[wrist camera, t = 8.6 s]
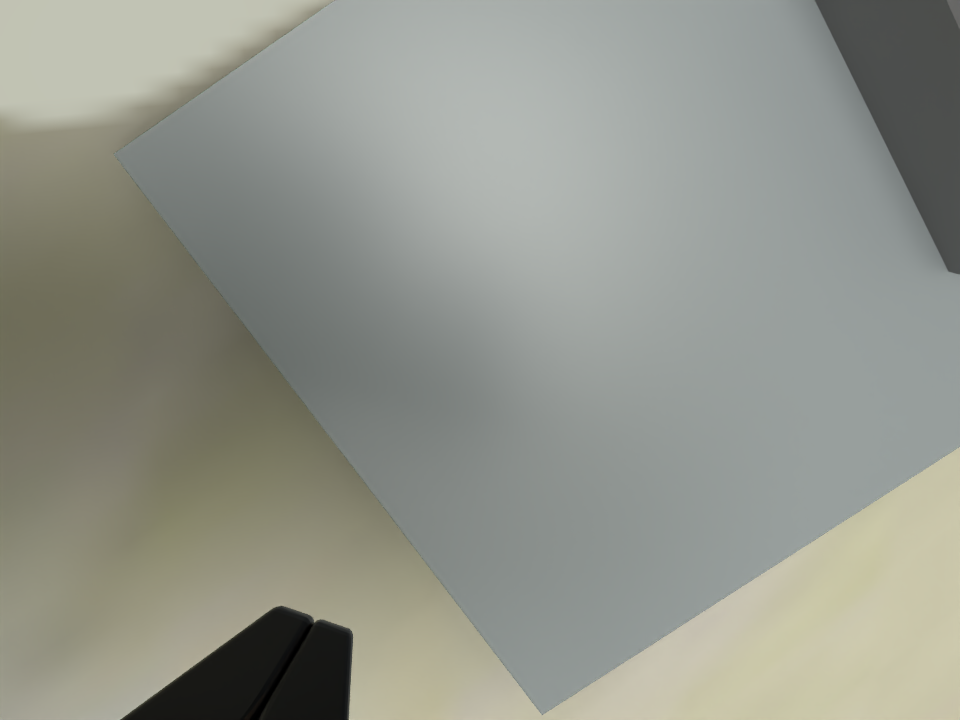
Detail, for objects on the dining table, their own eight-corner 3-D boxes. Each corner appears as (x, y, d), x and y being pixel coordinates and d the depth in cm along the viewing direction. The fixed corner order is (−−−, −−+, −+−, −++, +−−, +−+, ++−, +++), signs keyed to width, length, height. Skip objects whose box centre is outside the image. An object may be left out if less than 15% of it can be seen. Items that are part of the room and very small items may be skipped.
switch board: (533, 685, 23) (577, 840, 18) (129, 152, 19) (39, 161, 14) (1244, 227, 22) (1499, 256, 17) (989, -446, 18) (1229, -670, 13)
